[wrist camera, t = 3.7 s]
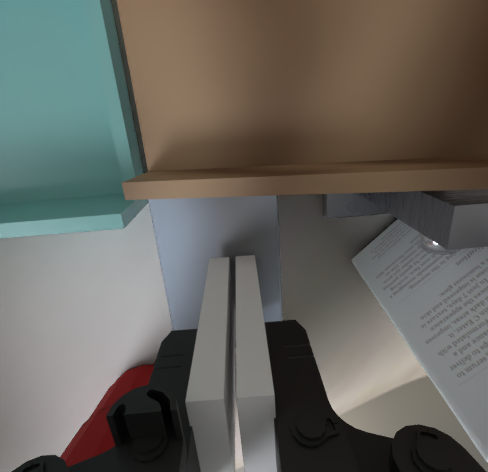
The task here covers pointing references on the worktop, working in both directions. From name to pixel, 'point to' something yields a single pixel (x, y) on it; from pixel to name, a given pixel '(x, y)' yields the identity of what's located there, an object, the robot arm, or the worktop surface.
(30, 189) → the tray
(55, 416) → the worktop surface
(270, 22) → the lever
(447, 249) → the stand
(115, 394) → the plastic cup
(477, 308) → the small box
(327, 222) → the worktop surface
